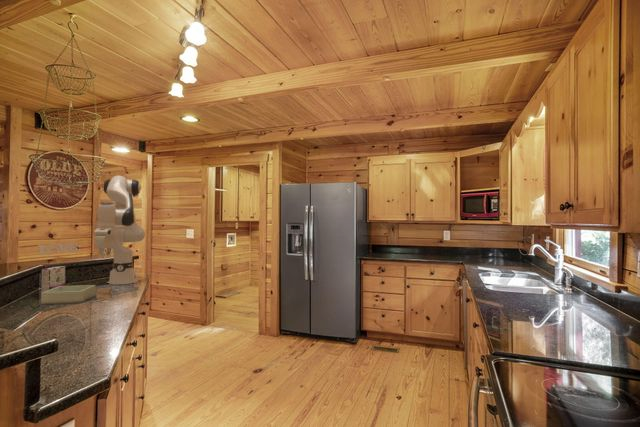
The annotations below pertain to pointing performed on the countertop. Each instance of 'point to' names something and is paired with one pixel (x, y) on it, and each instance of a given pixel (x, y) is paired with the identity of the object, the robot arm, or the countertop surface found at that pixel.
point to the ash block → (104, 293)
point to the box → (68, 294)
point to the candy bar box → (53, 277)
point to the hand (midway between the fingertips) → (105, 256)
